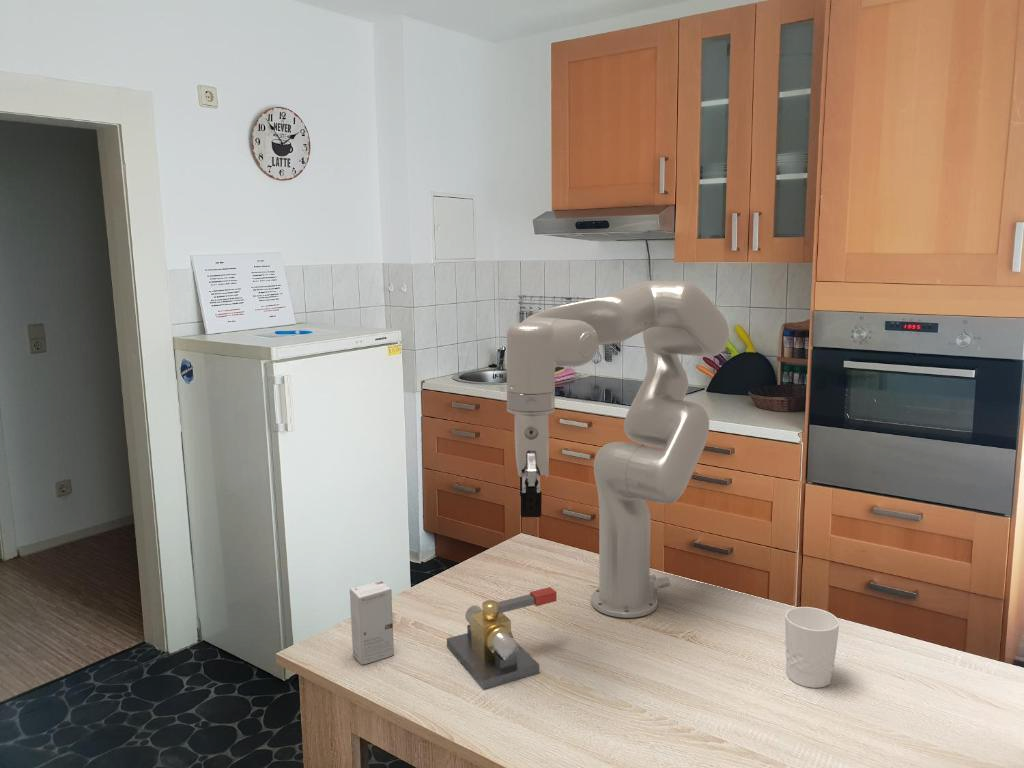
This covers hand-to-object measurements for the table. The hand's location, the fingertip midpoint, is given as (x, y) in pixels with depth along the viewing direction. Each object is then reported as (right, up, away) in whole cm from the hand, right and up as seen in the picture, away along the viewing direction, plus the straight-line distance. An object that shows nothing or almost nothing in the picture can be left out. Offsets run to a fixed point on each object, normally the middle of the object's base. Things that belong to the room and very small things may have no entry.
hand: (530, 506), depth 126 cm
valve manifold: (-6, -27, +6) cm, 28 cm away
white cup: (+44, -27, -1) cm, 52 cm away
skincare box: (-26, -27, +8) cm, 38 cm away
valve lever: (-2, -18, +6) cm, 19 cm away
